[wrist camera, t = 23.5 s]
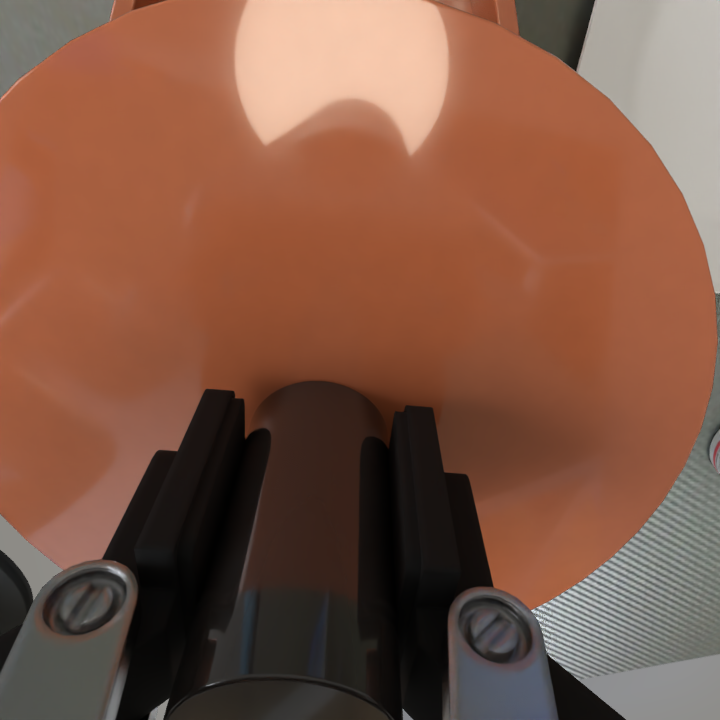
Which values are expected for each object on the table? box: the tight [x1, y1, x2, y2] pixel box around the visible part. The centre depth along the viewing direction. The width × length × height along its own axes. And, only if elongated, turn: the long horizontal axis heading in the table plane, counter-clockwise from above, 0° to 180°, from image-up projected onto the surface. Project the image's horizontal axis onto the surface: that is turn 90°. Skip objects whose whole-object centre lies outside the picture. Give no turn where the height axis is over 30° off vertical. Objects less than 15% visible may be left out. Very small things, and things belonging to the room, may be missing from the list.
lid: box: [0, 0, 718, 720], centre depth 10 cm, size 16×16×7 cm
